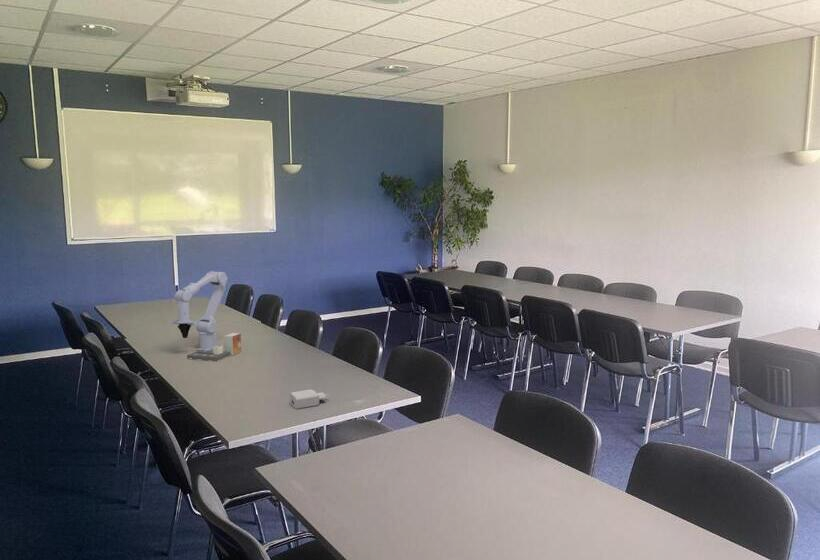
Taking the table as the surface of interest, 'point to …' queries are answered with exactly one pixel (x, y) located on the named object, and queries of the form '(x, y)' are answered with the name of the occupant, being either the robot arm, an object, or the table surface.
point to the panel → (208, 355)
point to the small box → (232, 343)
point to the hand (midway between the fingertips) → (185, 337)
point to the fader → (218, 350)
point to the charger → (306, 398)
